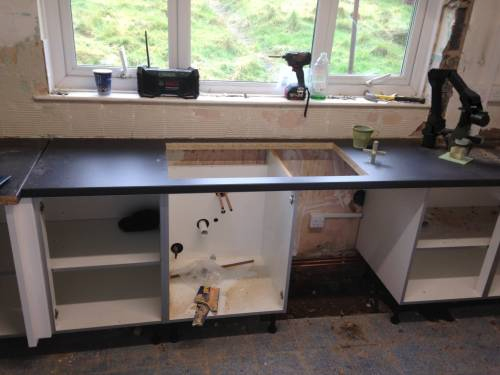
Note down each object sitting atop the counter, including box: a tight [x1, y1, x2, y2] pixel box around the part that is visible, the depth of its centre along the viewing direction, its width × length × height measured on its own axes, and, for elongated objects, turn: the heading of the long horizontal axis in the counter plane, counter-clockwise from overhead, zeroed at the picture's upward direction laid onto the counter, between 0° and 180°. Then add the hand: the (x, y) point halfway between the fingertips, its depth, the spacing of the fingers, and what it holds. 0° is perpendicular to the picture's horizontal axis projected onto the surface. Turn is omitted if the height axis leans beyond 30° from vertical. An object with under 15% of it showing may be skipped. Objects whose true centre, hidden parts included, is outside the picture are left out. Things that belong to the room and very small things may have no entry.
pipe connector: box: [362, 140, 387, 164], centre depth 192 cm, size 10×10×10 cm
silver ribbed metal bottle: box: [454, 125, 473, 146], centre depth 223 cm, size 6×7×20 cm
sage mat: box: [438, 151, 474, 166], centre depth 205 cm, size 12×12×1 cm
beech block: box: [449, 145, 467, 160], centre depth 204 cm, size 5×5×5 cm
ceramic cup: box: [352, 124, 380, 150], centre depth 212 cm, size 13×10×10 cm
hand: (457, 153), depth 204 cm, fingers open, 9 cm apart
